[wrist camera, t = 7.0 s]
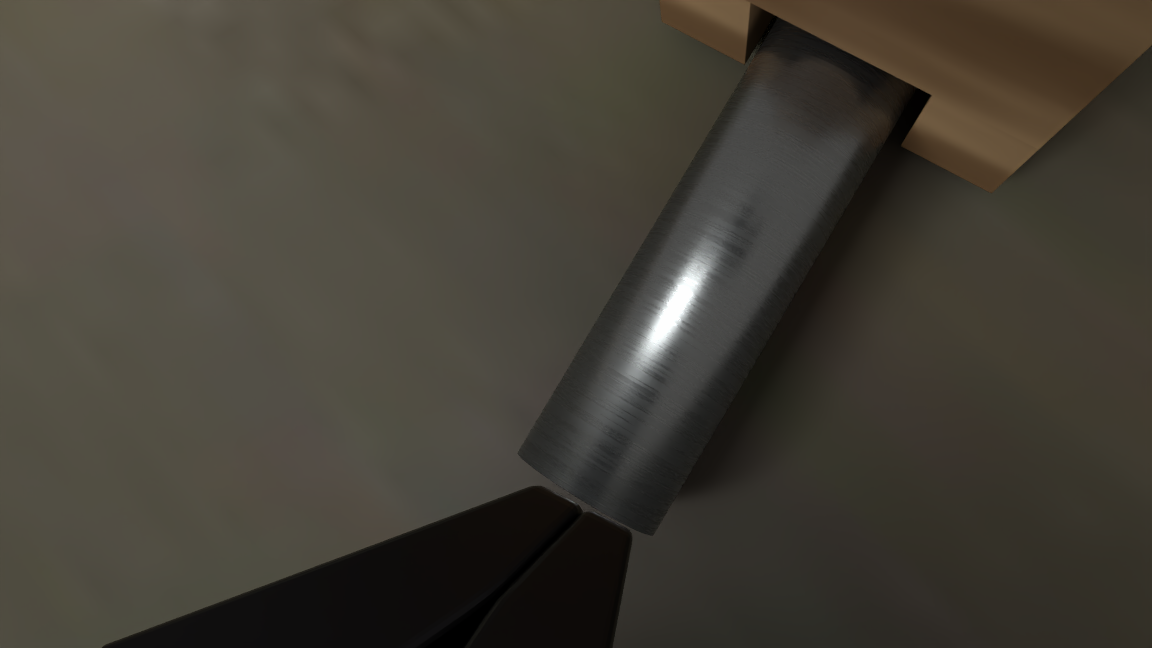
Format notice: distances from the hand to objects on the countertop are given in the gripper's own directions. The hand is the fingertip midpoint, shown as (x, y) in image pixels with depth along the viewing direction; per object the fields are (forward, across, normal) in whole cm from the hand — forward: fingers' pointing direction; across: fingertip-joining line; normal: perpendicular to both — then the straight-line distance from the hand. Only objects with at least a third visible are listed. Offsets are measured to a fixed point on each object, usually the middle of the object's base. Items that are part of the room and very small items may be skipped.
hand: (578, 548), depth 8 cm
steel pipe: (+15, +2, +2) cm, 15 cm away
